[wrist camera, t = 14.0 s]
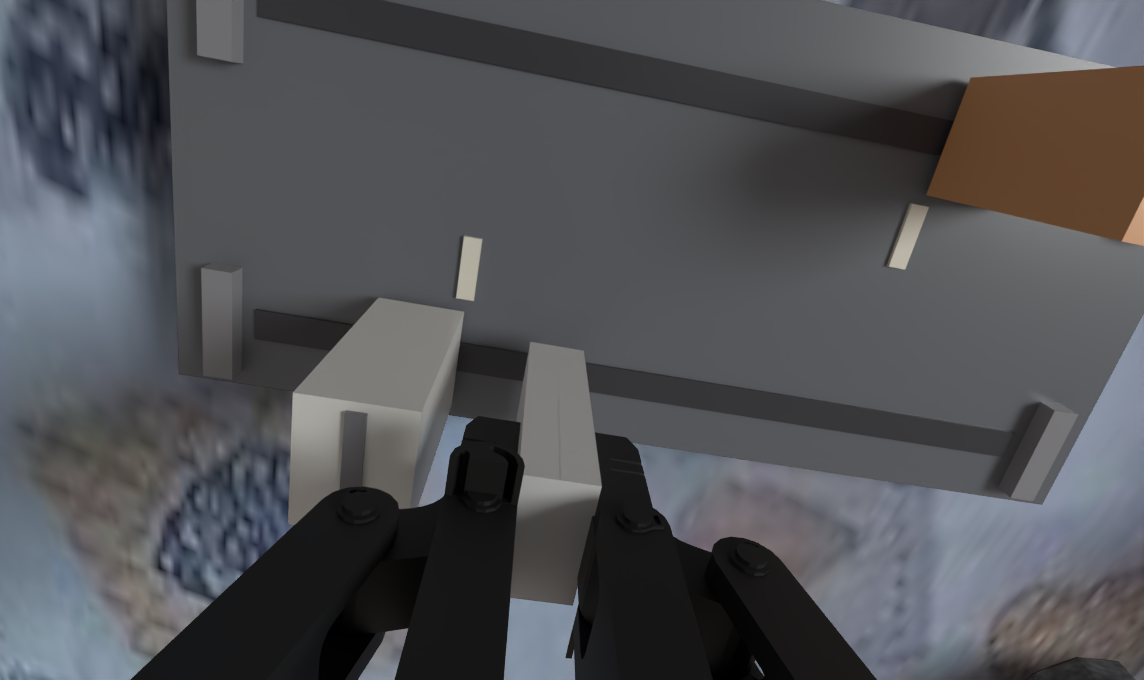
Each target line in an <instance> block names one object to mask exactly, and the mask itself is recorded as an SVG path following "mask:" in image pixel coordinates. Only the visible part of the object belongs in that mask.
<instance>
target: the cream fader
mask: <svg viewBox="0 0 1144 680" xmlns="http://www.w3.org/2000/svg"><path fill="white" fill-rule="evenodd" d="M463 317H464V312H463V311H457V310H451V309H445V308H439V307H433V306H427V305H421V304H415V303H409V302H403V301H397V300H391V299H385V298H378V299H377V300H376V301H375V302H374V303H373V304H372V306H371V307H370V308H369V309H368V310H367V311H366V312H365V313H364V314H363V315H362V317H361V318H360V319H359V320H358V321H357V322H356V323H355V324H354V325H353V327H352V328H351V329H350V330H349V331H348V332H347V333H346V334H345V335H344V337H343V338H342V339H341V340H340V341H339V342H338V343H337V344H336V345H335V347H334V348H333V349H332V350H331V351H330V352H329V353H328V354H327V355H326V356H325V358H324V359H323V360H322V361H321V362H320V363H319V364H318V365H317V366H316V368H315V369H314V370H313V371H312V372H311V373H310V374H309V375H308V376H307V378H306V379H305V380H304V381H303V382H302V383H301V384H300V385H299V386H298V388H297V389H296V390H295V391H294V392H293V403H292V431H291V458H290V486H289V513H288V524H291V525H295V524H296V523H297V522H298V521H299V520H301V519H302V518H303V517H304V516H305V515H306V514H307V513H308V512H309V511H310V510H311V509H312V508H313V507H314V506H315V505H316V504H318V503H319V502H320V501H321V500H322V499H323V498H325V497H326V496H328V495H329V494H331V493H332V492H334V491H337V490H341V489H344V488H348V487H362V486H364V487H370V488H376V489H380V490H382V491H384V492H386V493H388V494H390V495H391V496H392V497H393V498H394V499H395V500H396V501H397V502H398V506H399V509H407V508H416V507H418V505H419V502H420V499H421V496H422V493H423V490H424V487H425V484H426V481H427V478H428V475H429V472H430V469H431V466H432V463H433V460H434V457H435V454H436V451H437V448H438V445H439V442H440V439H441V436H442V433H443V430H444V427H445V424H446V421H447V418H448V415H449V412H450V409H451V406H452V399H453V391H454V384H455V376H456V369H457V362H458V354H459V347H460V339H461V332H462V324H463Z"/></svg>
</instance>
